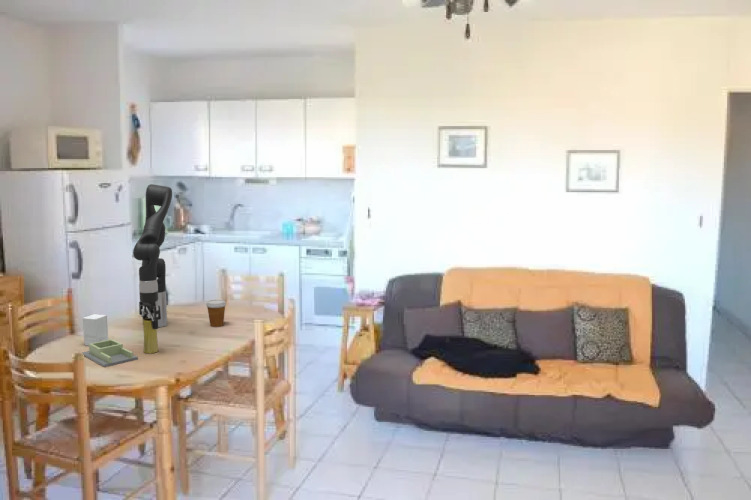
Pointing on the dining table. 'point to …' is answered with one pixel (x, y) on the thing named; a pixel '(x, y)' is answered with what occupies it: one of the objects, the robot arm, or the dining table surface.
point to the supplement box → (95, 328)
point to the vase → (149, 337)
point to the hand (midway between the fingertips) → (150, 327)
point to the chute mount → (109, 353)
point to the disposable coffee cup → (216, 312)
